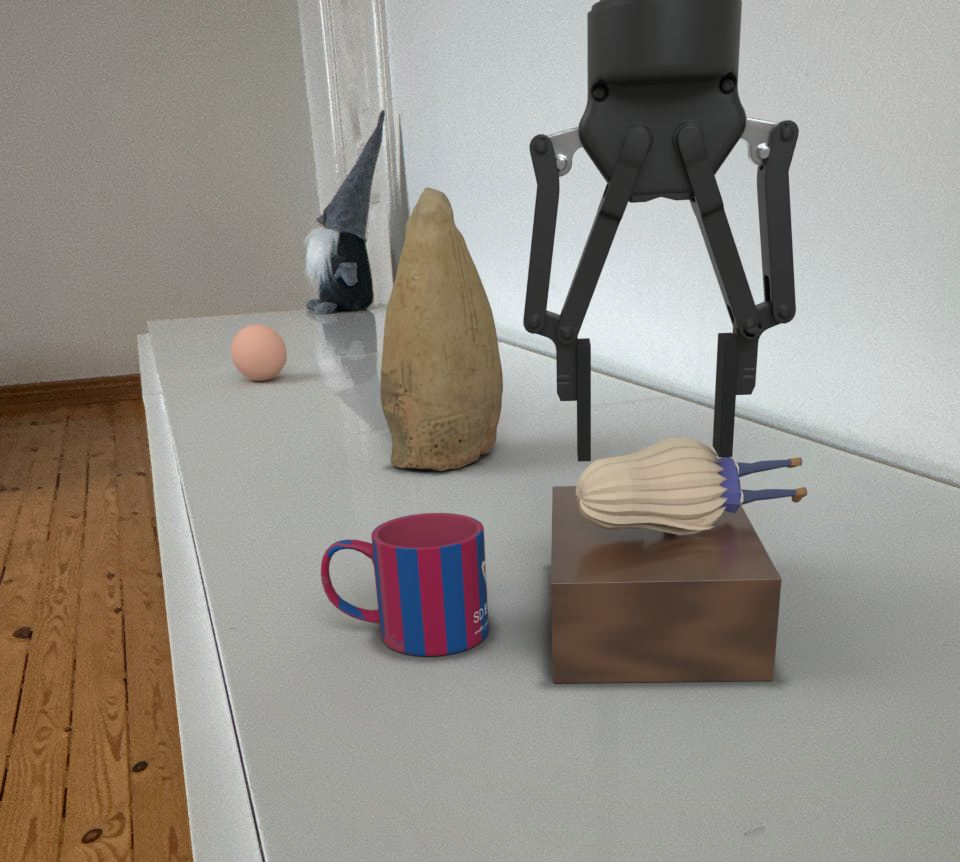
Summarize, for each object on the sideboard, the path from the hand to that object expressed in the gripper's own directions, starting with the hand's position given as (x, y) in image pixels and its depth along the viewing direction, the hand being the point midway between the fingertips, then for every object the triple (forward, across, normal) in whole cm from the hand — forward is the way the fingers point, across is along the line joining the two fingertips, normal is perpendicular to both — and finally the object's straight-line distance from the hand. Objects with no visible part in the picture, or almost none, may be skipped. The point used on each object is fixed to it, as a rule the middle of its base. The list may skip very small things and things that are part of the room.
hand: (652, 452), depth 59 cm
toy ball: (+11, +49, -88) cm, 101 cm away
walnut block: (+11, 0, 0) cm, 11 cm away
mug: (+11, +15, +2) cm, 19 cm away
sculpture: (+11, +17, -40) cm, 45 cm away
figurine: (+5, -3, 0) cm, 5 cm away
